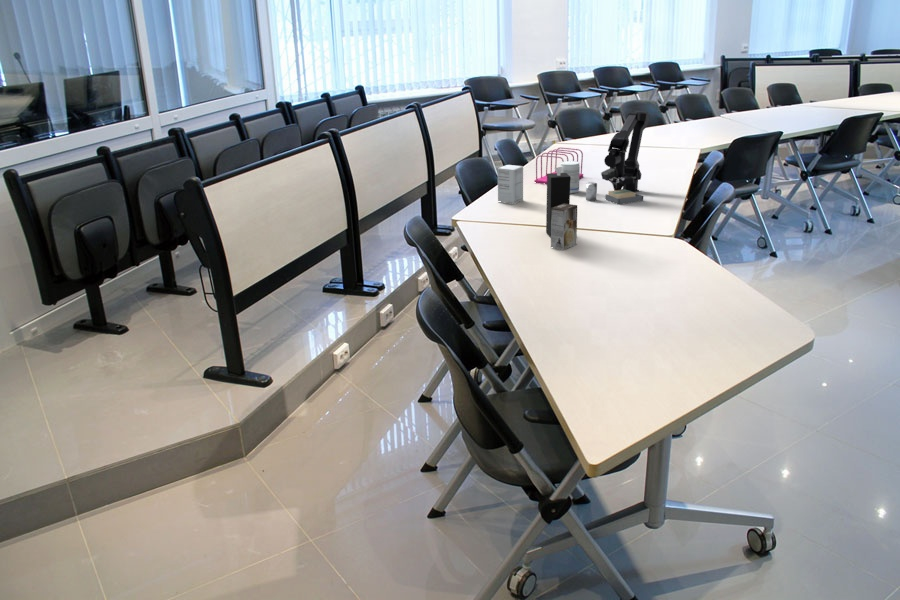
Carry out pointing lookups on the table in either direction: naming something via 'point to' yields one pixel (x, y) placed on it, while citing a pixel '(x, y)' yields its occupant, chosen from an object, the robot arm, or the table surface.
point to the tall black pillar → (556, 193)
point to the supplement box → (510, 184)
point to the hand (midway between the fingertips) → (616, 194)
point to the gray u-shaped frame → (624, 199)
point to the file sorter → (544, 178)
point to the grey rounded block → (591, 191)
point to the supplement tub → (572, 174)
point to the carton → (621, 193)
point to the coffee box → (563, 226)
